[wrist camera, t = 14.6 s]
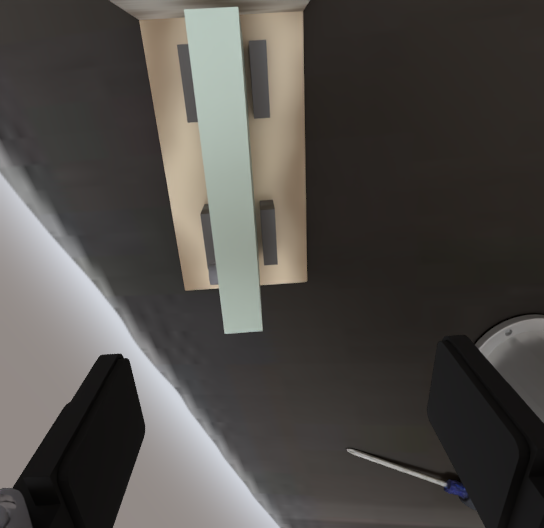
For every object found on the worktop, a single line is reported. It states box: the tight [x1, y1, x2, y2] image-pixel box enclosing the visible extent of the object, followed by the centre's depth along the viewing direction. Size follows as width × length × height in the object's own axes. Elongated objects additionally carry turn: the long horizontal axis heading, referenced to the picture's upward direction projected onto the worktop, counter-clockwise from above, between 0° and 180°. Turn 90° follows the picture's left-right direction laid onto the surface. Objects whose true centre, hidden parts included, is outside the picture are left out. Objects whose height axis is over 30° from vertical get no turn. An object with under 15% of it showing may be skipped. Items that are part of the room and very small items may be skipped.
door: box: [184, 7, 263, 334], centre depth 27 cm, size 4×18×12 cm, turn 3°
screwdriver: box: [346, 448, 477, 511], centre depth 51 cm, size 26×4×4 cm, turn 66°
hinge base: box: [109, 0, 310, 291], centre depth 24 cm, size 12×24×20 cm, turn 3°
